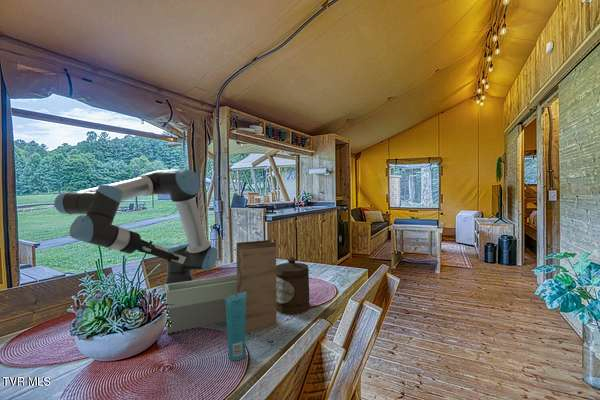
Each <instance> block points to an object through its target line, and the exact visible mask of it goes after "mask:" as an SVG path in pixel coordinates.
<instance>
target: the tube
mask: <svg viewBox="0 0 600 400" xmlns="http://www.w3.org/2000/svg"><path fill="white" fill-rule="evenodd" d="M225 306H226V317H227V321H226V329H227V343H228V344H227V345H228V358H229V360H231V361H240V360H242V359H245V356H246V334H245V317H246V291H245V292H241V293H238V294H234V295H230V296H227V297H225Z"/></svg>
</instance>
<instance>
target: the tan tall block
mask: <svg viewBox="0 0 600 400" xmlns="http://www.w3.org/2000/svg"><path fill="white" fill-rule="evenodd" d="M276 266H277V242H276V241H271V240H270V239H262V240H254V241H253V240H252V241H251V240H250V241H239V242H236V274H237V294H238V293H241V292H245V291H246V317H245V335H246V334H250V333H253V332H258V331H262V330H267V329H270V328H274V327H277V325H278V322H277V321H278V317H277V315H278V311H277V289H276Z"/></svg>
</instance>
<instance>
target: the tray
mask: <svg viewBox="0 0 600 400" xmlns="http://www.w3.org/2000/svg"><path fill="white" fill-rule="evenodd" d="M165 293H166V297H165V296H164V300H165V299H166V302H167V303H168V304H175V305H168V306H167V307H168V308H169V312H168V315H170V318H168V320H169V321H173V324H172V326H171V327H170V328H169V327H168V326H167V329H166V333H167V335H168V333H170V334H173V333H172V332H175V333H177V331H179V332H183V331H182V330H184V331H187V330H186V329H188V330H193V329H197V328H201V327H206V326H210V325H214V324H220V323H224V322H227V317H226V306H225V297H227V296H230V295H234V294H237V273H236V274H230V275H228V274H227V275H221V276H213V277H208V278H201V279H195V280H193V281H186V282H179V283H172V284H165V291H164V294H165ZM192 328H193V329H192Z"/></svg>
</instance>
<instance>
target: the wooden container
mask: <svg viewBox="0 0 600 400" xmlns="http://www.w3.org/2000/svg"><path fill="white" fill-rule="evenodd" d="M296 261H297V260H296V258H295V257H291V256H290V257H289V258H288V259H287V262H283V263H279V264H276V289H277V313H280V314H283V315H290V316H291V315H301V314H304V313H306V312H308V311H309V310H310V279H309V278H310V276H309V274H310V273H309V272H310V271H309V269H310V268H309V265H308V264H306V263H301V262H296Z"/></svg>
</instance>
